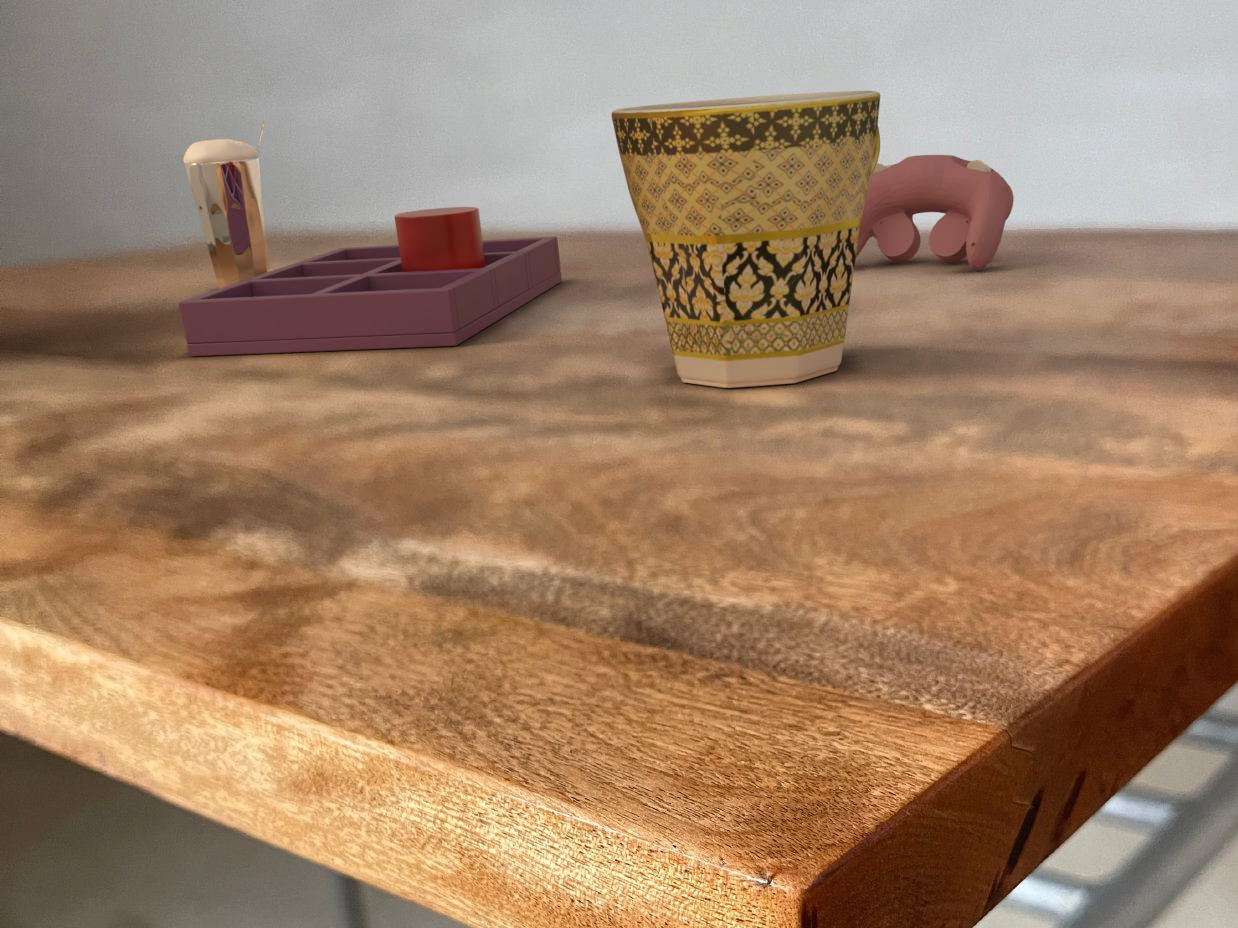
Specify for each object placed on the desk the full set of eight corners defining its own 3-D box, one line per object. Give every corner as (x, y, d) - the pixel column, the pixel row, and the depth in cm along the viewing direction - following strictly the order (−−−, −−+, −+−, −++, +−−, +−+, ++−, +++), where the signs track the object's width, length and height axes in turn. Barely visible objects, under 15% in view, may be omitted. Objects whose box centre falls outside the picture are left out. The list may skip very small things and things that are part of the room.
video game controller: (1007, 290, 80) (1028, 167, 80) (982, 263, 76) (1005, 134, 76) (847, 288, 85) (867, 172, 85) (816, 262, 81) (836, 141, 81)
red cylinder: (394, 306, 75) (381, 218, 73) (422, 292, 79) (411, 209, 77) (474, 302, 74) (463, 213, 72) (499, 289, 78) (488, 205, 76)
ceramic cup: (770, 408, 50) (756, 105, 46) (582, 382, 57) (555, 114, 53) (976, 344, 59) (979, 81, 55) (791, 327, 65) (782, 92, 61)
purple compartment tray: (456, 346, 67) (449, 289, 66) (188, 356, 69) (177, 302, 68) (562, 281, 85) (557, 236, 84) (346, 291, 88) (339, 247, 87)
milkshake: (300, 286, 92) (271, 119, 88) (215, 296, 90) (181, 126, 86) (286, 279, 95) (258, 119, 91) (204, 289, 94) (172, 126, 89)
